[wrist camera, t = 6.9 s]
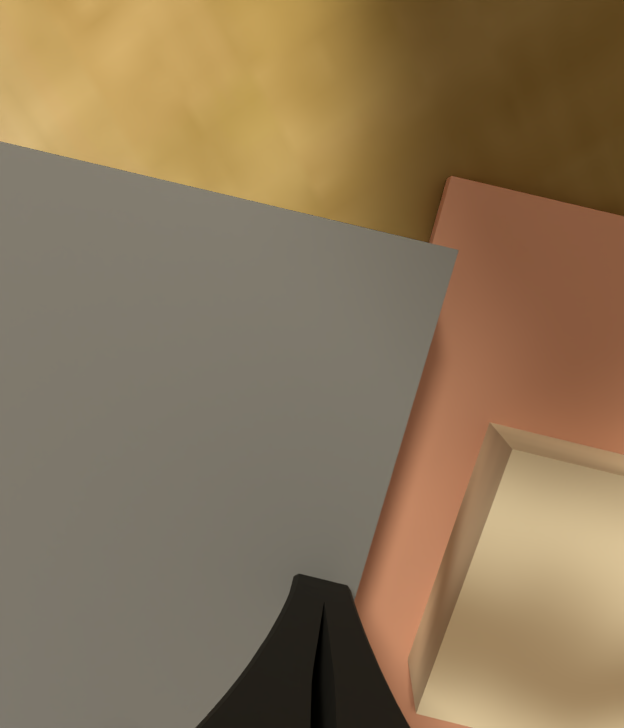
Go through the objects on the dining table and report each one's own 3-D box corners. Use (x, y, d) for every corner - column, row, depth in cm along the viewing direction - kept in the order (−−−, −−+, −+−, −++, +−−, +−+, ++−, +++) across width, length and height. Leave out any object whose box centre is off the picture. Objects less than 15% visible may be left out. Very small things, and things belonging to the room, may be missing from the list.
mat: (606, 839, 19) (615, 859, 18) (283, 759, 19) (281, 775, 18) (900, 285, 13) (926, 287, 13) (446, 178, 13) (451, 175, 13)
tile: (415, 713, 15) (407, 659, 16) (607, 761, 14) (576, 701, 16) (512, 448, 12) (489, 422, 14) (738, 503, 12) (684, 469, 14)
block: (294, 720, 18) (280, 848, 14) (16, 651, 18) (-72, 759, 14) (426, 249, 14) (458, 250, 10) (62, 163, 14) (-46, 130, 10)
